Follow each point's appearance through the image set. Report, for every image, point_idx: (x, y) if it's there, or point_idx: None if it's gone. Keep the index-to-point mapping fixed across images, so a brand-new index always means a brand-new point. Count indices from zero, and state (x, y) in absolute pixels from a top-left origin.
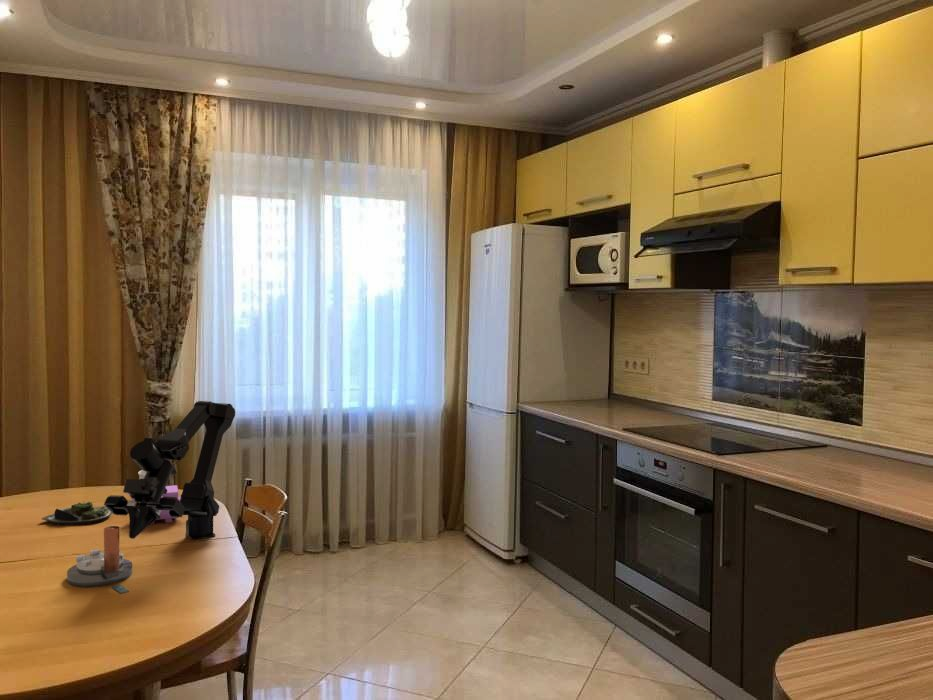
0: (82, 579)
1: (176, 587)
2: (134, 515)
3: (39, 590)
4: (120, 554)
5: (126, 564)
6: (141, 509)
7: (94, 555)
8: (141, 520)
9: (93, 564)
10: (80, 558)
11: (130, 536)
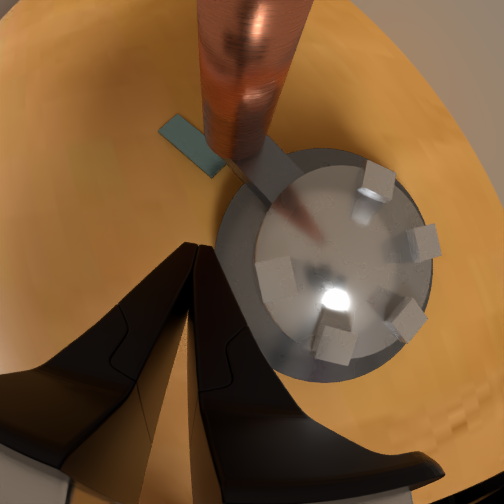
0: (339, 150)
1: (31, 183)
2: (208, 400)
3: (423, 146)
4: (271, 278)
5: (250, 313)
6: (47, 415)
7: (395, 297)
8: (93, 325)
9: (344, 183)
10: (419, 227)
11: (199, 245)
